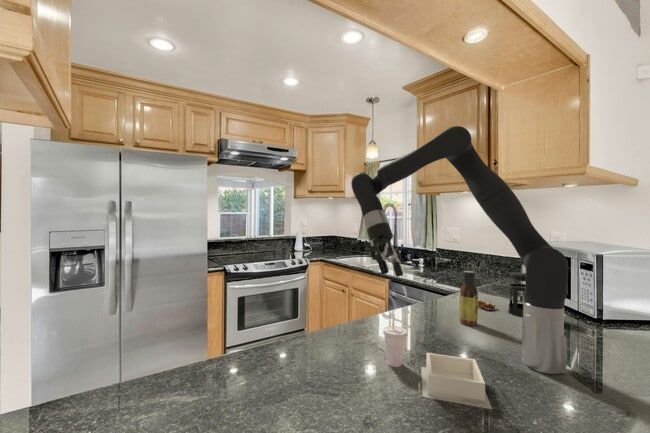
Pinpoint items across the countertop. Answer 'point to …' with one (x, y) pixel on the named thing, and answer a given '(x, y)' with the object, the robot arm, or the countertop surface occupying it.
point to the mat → (425, 394)
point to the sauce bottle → (468, 300)
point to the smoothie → (394, 343)
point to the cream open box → (454, 378)
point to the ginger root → (486, 305)
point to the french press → (514, 288)
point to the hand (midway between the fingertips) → (393, 274)
